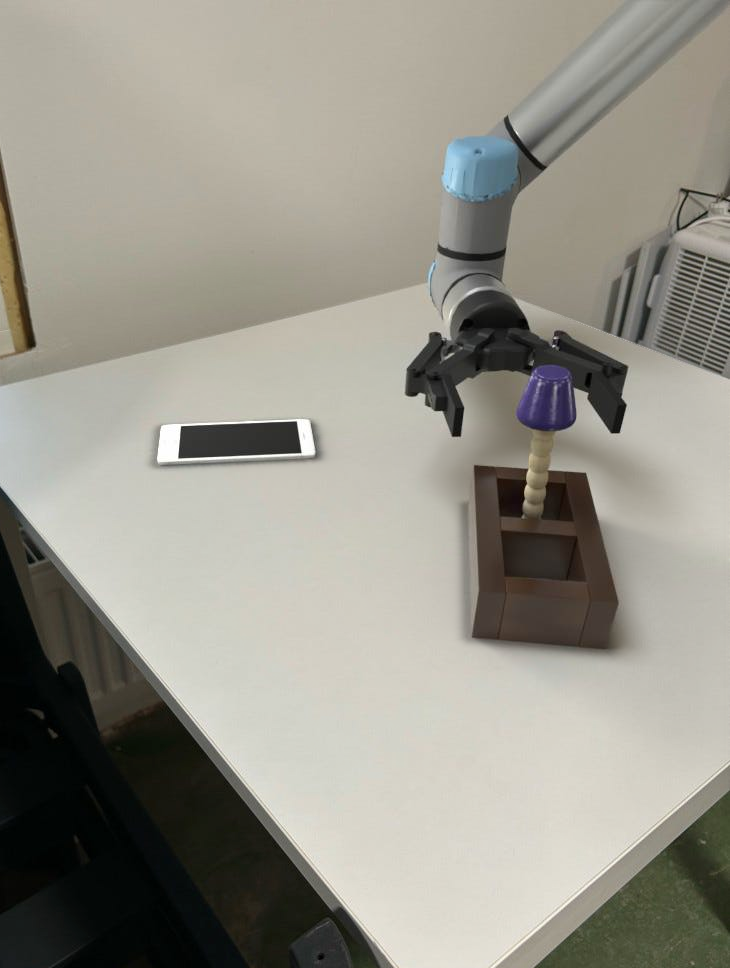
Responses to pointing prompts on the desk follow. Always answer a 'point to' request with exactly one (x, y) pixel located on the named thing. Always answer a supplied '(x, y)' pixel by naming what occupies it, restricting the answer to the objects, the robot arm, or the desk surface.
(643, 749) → the desk surface
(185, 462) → the cell phone
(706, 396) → the desk surface
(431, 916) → the desk surface
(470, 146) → the robot arm
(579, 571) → the stand
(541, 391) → the toy lamp
